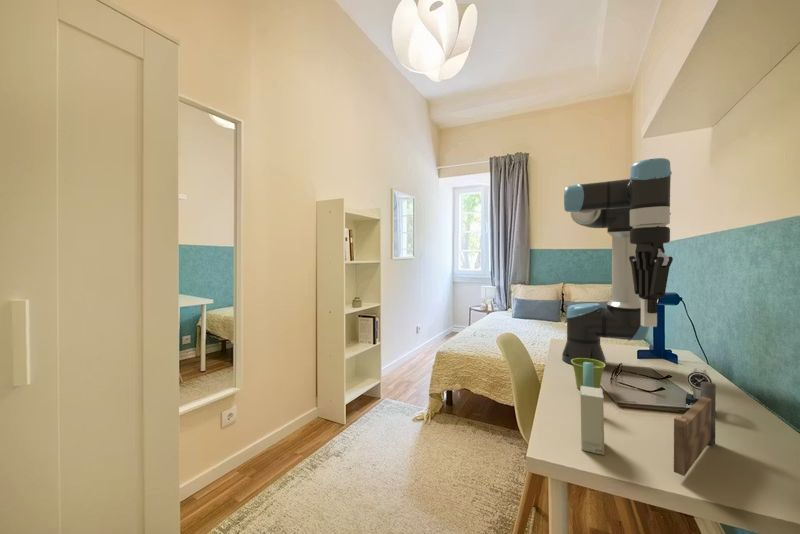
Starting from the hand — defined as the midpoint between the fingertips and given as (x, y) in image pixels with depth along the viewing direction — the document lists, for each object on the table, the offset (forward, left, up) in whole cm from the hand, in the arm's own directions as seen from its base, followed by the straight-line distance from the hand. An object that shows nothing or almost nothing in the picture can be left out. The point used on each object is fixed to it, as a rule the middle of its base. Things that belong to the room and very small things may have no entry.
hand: (648, 325), depth 77 cm
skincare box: (+16, -9, -25) cm, 31 cm away
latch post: (-2, -13, -25) cm, 28 cm away
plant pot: (-18, -17, -25) cm, 35 cm away
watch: (-22, +9, -25) cm, 35 cm away
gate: (+8, +8, -25) cm, 27 cm away
